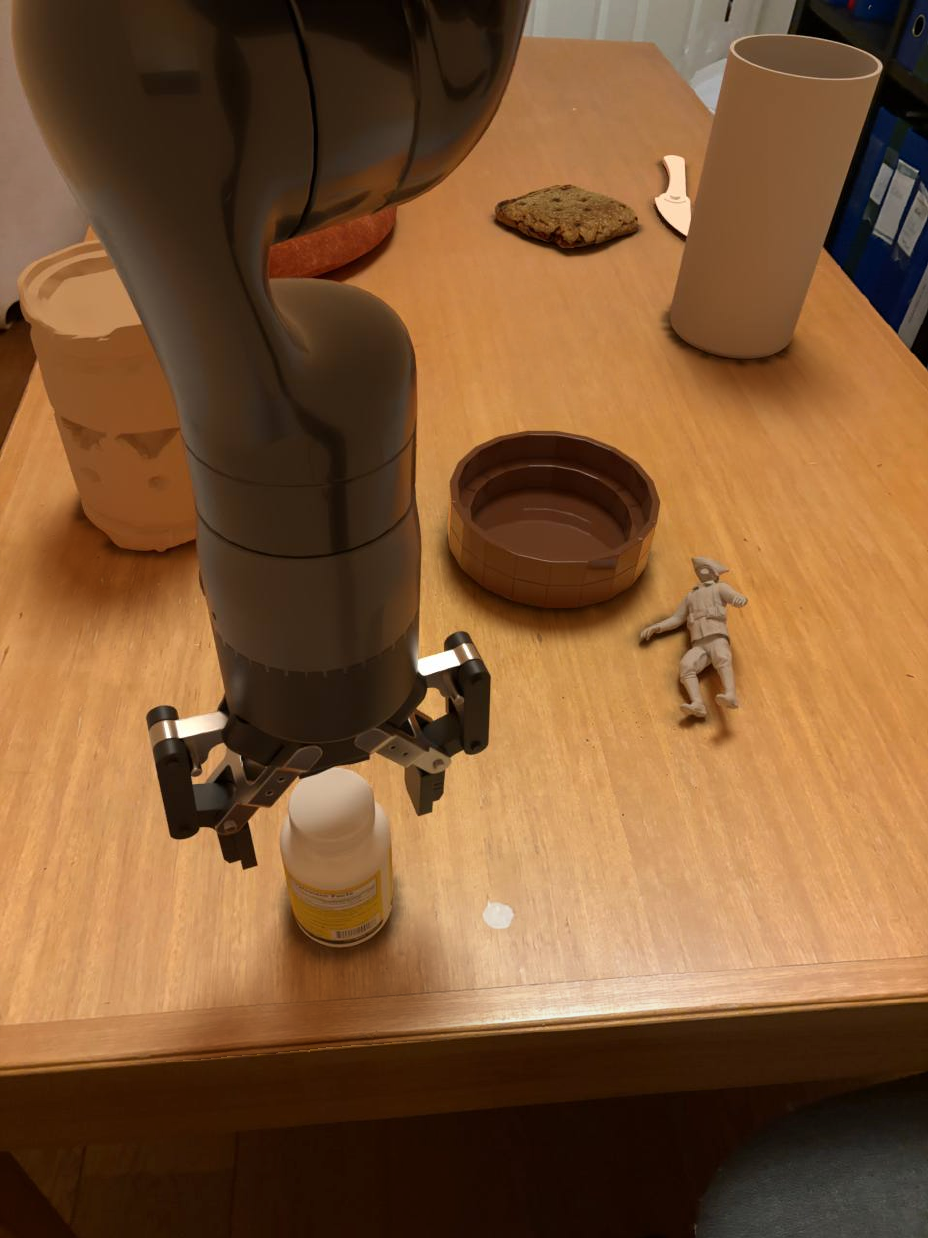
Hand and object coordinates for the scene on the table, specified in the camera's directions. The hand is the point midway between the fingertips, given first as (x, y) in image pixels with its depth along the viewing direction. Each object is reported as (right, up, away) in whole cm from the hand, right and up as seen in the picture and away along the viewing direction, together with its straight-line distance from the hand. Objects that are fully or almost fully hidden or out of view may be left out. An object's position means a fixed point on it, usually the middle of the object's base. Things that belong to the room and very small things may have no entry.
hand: (334, 825), depth 45 cm
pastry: (+19, +57, +67) cm, 90 cm away
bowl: (+13, +16, +26) cm, 33 cm away
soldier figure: (+22, +7, +19) cm, 30 cm away
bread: (-13, +55, +63) cm, 84 cm away
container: (-17, +19, +28) cm, 38 cm away
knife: (+33, +63, +74) cm, 102 cm away
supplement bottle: (0, -5, +5) cm, 8 cm away
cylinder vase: (+33, +40, +51) cm, 73 cm away
